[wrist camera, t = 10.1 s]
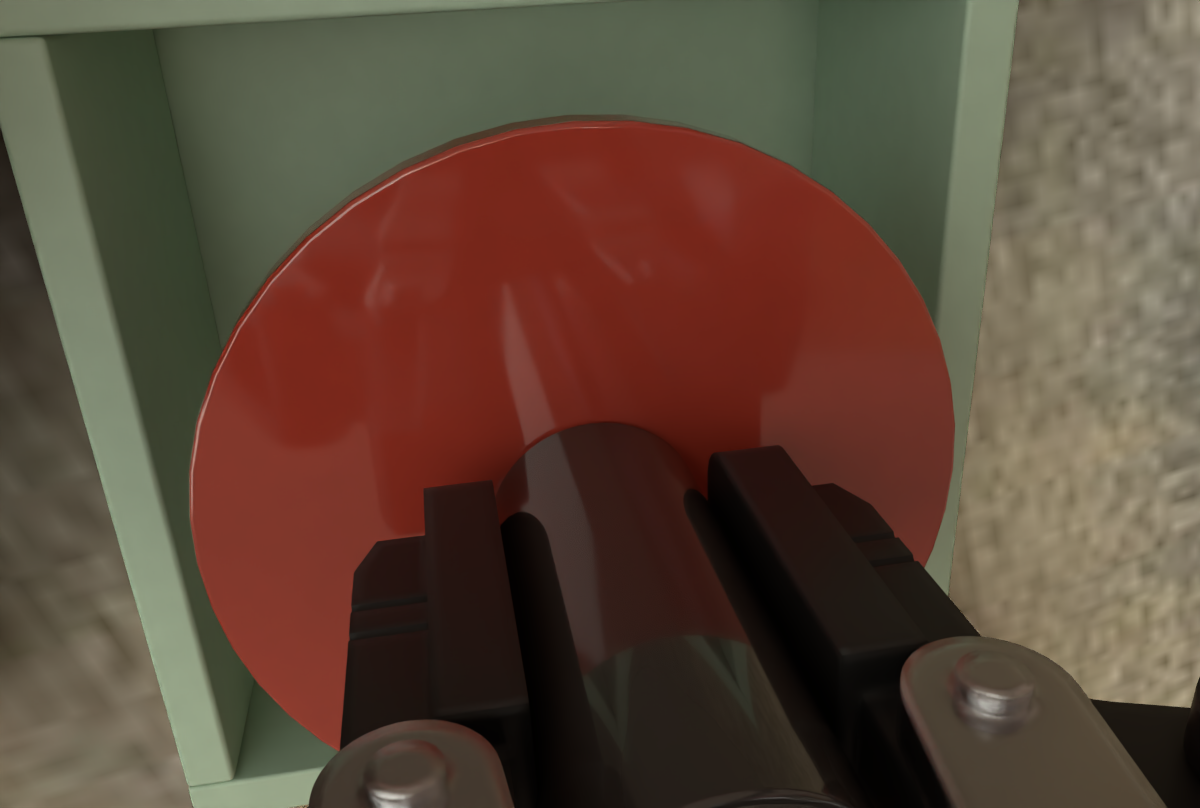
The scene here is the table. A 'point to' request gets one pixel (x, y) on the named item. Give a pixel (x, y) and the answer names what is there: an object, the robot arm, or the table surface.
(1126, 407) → the table surface
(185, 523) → the green square box
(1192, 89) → the table surface
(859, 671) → the robot arm
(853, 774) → the lid
